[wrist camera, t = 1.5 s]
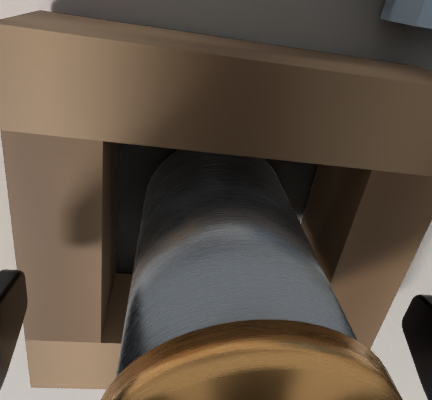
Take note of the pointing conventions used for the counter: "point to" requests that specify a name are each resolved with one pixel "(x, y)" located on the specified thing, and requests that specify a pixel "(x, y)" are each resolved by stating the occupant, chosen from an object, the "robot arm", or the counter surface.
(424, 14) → the tray
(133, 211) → the counter surface
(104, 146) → the brown square frame
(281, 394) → the pin
